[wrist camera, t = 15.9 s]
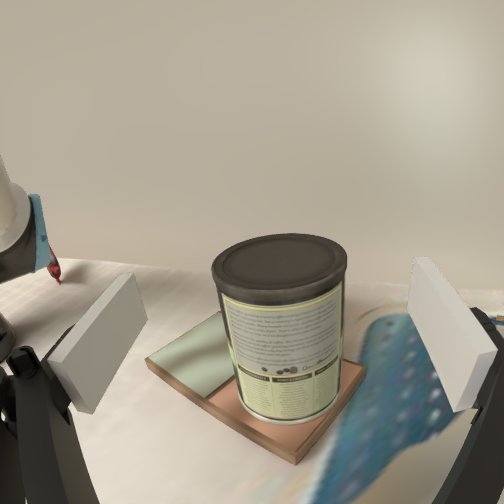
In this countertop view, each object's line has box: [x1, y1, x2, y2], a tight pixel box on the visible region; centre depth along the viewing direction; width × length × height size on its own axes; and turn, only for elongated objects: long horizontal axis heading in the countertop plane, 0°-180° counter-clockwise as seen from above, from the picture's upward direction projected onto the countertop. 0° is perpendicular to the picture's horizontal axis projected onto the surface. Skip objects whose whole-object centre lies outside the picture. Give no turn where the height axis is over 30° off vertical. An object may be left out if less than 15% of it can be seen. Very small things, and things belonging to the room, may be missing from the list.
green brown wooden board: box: [145, 311, 367, 465], centre depth 34 cm, size 22×13×2 cm, turn 49°
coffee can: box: [211, 233, 347, 425], centre depth 27 cm, size 10×10×14 cm
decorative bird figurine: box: [47, 245, 61, 284], centre depth 61 cm, size 3×18×10 cm, turn 45°
